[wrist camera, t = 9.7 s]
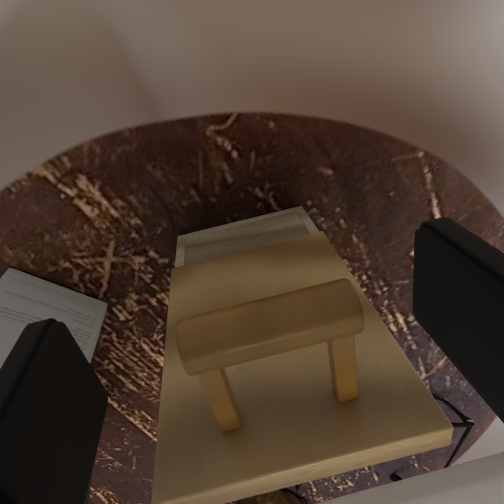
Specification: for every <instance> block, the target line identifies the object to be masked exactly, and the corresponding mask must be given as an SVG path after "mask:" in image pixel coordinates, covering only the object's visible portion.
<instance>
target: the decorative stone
mask: <svg viewBox="0 0 504 504" xmlns="http://www.w3.org/2000/svg"><path fill="white" fill-rule="evenodd" d="M239 504H307V503H306V502H305V500H304V499H297V498H296V496H294V495H293V494H291V493H290V492H287V491H284V490H282V489H278V490H274V491H270V492H267V493H263V494H259V495H255V496H251V497H247V498H244V499H241V500H240V502H239Z"/></svg>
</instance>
